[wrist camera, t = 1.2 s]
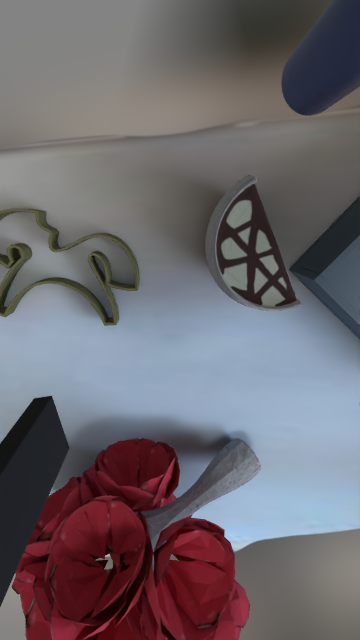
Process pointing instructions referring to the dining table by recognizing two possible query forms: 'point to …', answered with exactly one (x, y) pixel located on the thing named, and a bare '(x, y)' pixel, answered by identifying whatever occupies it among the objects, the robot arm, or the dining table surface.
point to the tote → (336, 268)
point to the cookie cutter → (17, 262)
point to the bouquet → (135, 551)
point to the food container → (247, 251)
